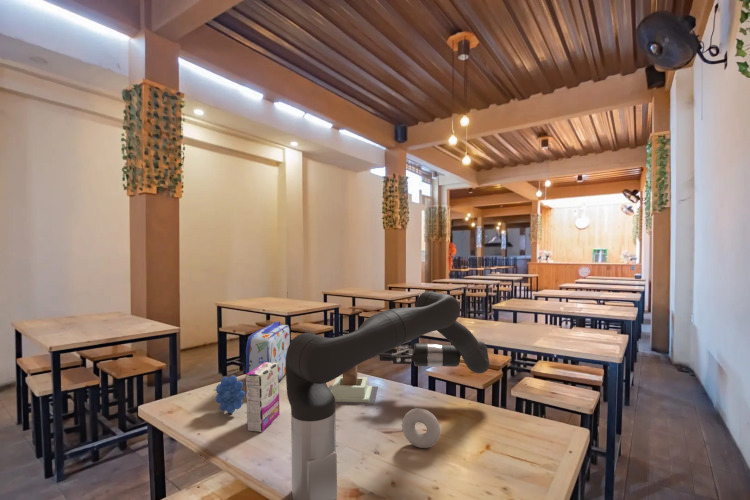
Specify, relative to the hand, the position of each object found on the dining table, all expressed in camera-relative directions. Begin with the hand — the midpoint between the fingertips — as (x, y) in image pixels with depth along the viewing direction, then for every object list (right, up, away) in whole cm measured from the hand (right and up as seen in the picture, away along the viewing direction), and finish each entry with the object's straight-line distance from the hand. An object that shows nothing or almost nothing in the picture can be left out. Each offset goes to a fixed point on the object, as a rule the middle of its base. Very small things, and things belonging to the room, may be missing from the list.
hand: (380, 353), depth 127 cm
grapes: (-47, -16, -10) cm, 51 cm away
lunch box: (-43, -15, +16) cm, 48 cm away
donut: (+10, -15, -32) cm, 37 cm away
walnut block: (-11, -14, +1) cm, 17 cm away
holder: (-11, -15, +1) cm, 18 cm away
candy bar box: (-35, -16, -18) cm, 42 cm away
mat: (-11, -15, +1) cm, 18 cm away
